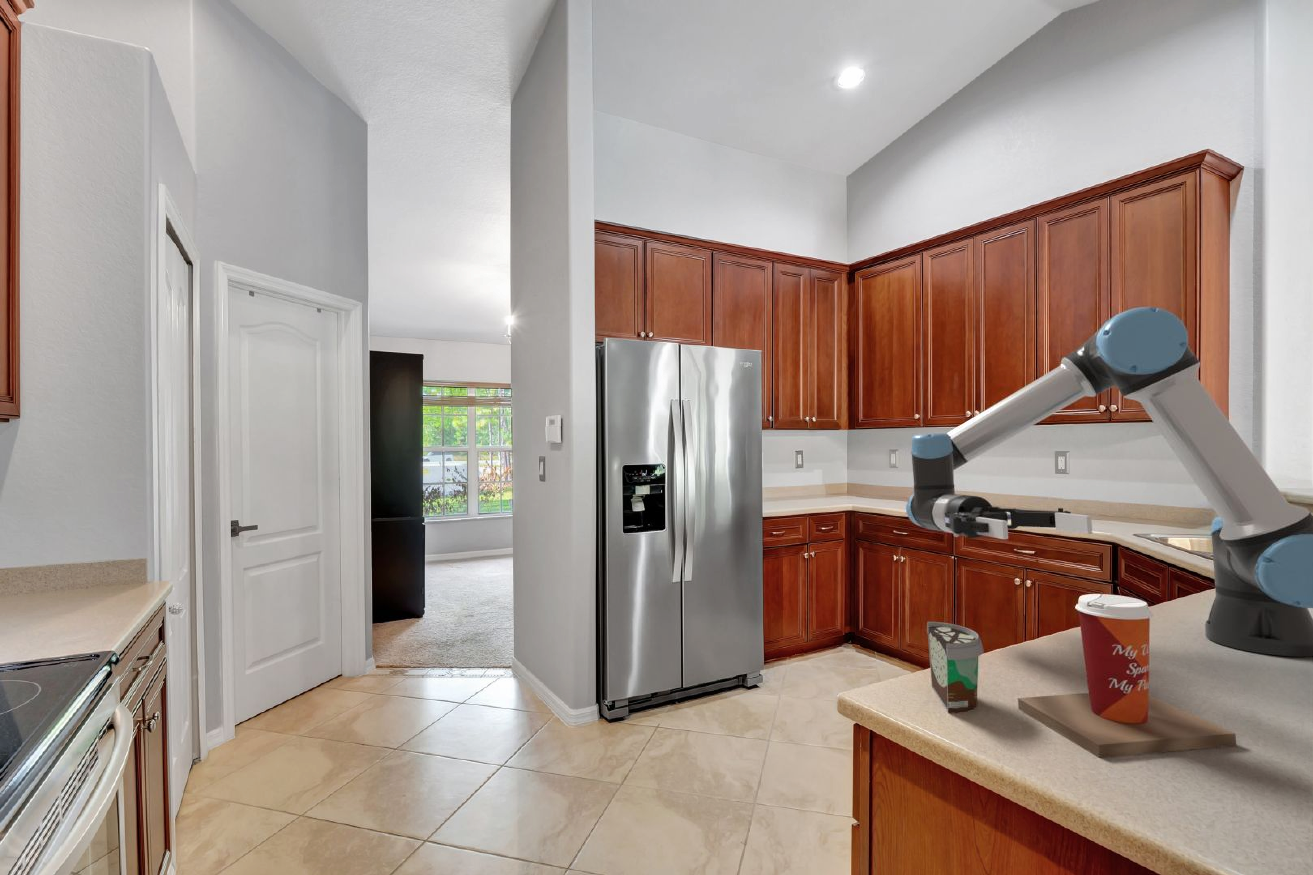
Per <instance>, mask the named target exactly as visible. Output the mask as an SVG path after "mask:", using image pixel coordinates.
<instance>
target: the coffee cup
mask: <svg viewBox="0 0 1313 875" xmlns="http://www.w3.org/2000/svg"><path fill="white" fill-rule="evenodd" d="M1074 607H1075V610H1077V611H1078V617H1079V624H1080V625H1079V626H1080V634H1081V641H1082V650H1083V657H1084V658H1083V659H1084V666H1085V674H1086V681H1087V689H1088V693H1089V698H1090V704H1091V709H1092V712H1093V713H1095V714H1096V715H1098V716H1100V717H1102V718H1104V719H1107V720H1110V721H1114V722H1119V723H1125V724H1142V723H1145V722H1147V719H1148V702H1149V696H1150V694H1149V692H1150V691H1149V690H1150V630H1151V629H1150V627H1151V625H1150V624H1151V623H1150V619H1151V618H1152V617H1154V614H1153V612H1152V611H1151V610H1150V608H1149V604H1148V603H1147V602H1146V601H1144V600H1142V599H1138V598H1134V597H1131V596H1124V595H1118V594H1117V595H1116V594H1108V593H1107V594H1106V593H1105V594H1104V593H1089V594H1082V595H1080V596H1079V598H1078V603H1076V605H1075V606H1074Z"/></svg>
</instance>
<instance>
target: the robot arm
mask: <svg viewBox="0 0 1313 875" xmlns="http://www.w3.org/2000/svg"><path fill="white" fill-rule="evenodd" d="M1188 344H1189V335H1188V331H1187V328H1186V326H1185V324H1184V322H1183V321H1182V320H1181V319H1180V317H1178V316H1176V315H1175V314H1174V313H1172V312H1170V311H1168V310H1166V309H1163V308H1159V307H1153V306H1152V307H1151V306H1141V307H1135V308H1134V307H1133V308H1130V309H1128V310H1126V311H1123V312H1120V313H1117V314H1116V315H1114V316H1113V317H1111V318H1110V319H1107V320H1106V322H1104V324H1102V326H1101V327H1100V328H1099V329H1098V330H1097V331H1095V333H1093V334H1092V336H1090V338H1088V339H1087V340H1086V341H1085V342H1084V343H1083V344H1082V345H1080V346H1079V347H1078V348H1076V349H1075V350H1073V351H1072V352H1071V353H1069V354H1068V355H1065V356H1064V357H1062V358H1061V361H1060V364H1059V366H1057V367H1055V368H1053V369H1052V370H1051V371H1048V372H1047V373H1045V374H1044V375H1042V376H1041V377H1039V378H1037V379H1035V380H1034V381H1033V382H1030V383H1029V384H1027V385H1025V386H1024V387H1022V388H1020V389H1019V390H1017V391H1015V392H1014V393H1012V394H1009V396H1007V397H1006V398H1003V399H1002V400H1000V401H999V402H997V403H995V404H993V405H992V406H990V407H988V408H987V409H985V410H983V411H982V412H980V413H979V414H977V415H975V416H974V417H972V418H970V419H969V420H967V421H965V422H964V423H962V424H960V425H958V426H956V427H955V428H953V429H952V430H950V431H948V432H947V433H944V432H943V433H925V434H914V435H913V436H912V437H911V439H910V440H911V441H910V442H911V444H910V445H911V448H910V454H911V462H912V463H911V464H912V473H913V475H912V476H913V494H911V496H910V497H909V498H908V499H907V502H906V504H905V510H906V515H907V517H908V519H909V521H911V522H912V523H913V524H914V525H917V526H918V527H922V528H924V529H927V530H929V531H931V530H932V531H937V532H938V531H939V532H944V533H949V534H950V533H951V534H953V536H954V537H955V538H958V537H960V536H962V537H966V538H968V539H977V538H982V537H989V538H993V539H994V538H995V539H1000V540H1009V530H1015V529H1018V527H1022V528H1023V527H1026V528H1052V529H1053V528H1054V529H1055V530H1058V531H1065V532H1071V533H1078V534H1083V535H1092V534H1093V524H1092V523H1093V522H1092V515H1087V514H1078V513H1077V514H1076V513H1075V514H1074V513H1071V511H1069V510H1064V508H1063V507H1059V508H1057V510H1040V509H1039V510H1036V509H1021V508H1020V509H1018V508H1016V507H1015V508H1012V507H1011V508H1006V507H1005V508H1004V507H1003V508H1002V507H999V506H992V504H991V503H990V502H989V501H988V500H987V499H986V498H984V497H981V496H978V495H969V494H968V495H967V494H962V493H961V494H959V493H955V479H954V478H955V477H954V476H955V475H954V471H955V470H957V469H959V468H960V467H962V466H964V465H965V464H967V463H969V462H971V461H972V460H974V459H976V458H977V457H979V456H981V455H982V454H984V453H986V452H988V451H990V450H992V449H994V448H995V447H997V446H999V445H1001V444H1002V443H1004V442H1006V441H1008V440H1009V439H1011V438H1013V437H1015V436H1017V435H1019V434H1020V433H1022V432H1023V431H1026V430H1027V429H1029V428H1031V427H1032V426H1035V425H1036V424H1037V423H1039V422H1042V421H1043V420H1045V419H1046V418H1048V417H1050V416H1051V415H1054V414H1055V413H1057V412H1059V411H1061V410H1063V409H1064V408H1066V407H1068V406H1070V405H1072V404H1073V403H1075V402H1077V401H1078V400H1080V399H1082V398H1084V397H1091V398H1095V397H1096V396H1098V395H1100V394H1101V393H1104V392H1105V391H1107V390H1110V389H1112V388H1113V387H1116V388H1117V389H1118V391H1119V392H1120V394H1121V395H1122V396H1123V398H1124V399H1127V400H1132V401H1137V403H1140V405H1141V406H1142V407H1143V410H1145V412H1146V413H1147V415H1148V416H1149V418H1150V419H1151V421H1152V422H1153V424H1154V425H1155V426H1156V428H1157V429H1158V431H1159V432H1160V433H1161V435H1162V436H1163V438H1164V439H1165V441H1166V442H1167V443H1168V445H1169V447H1170V448H1171V449H1172V451H1173V452H1174V454H1175V455H1176V457H1177V458H1178V460H1179V461H1180V463H1181V464H1182V466H1183V467H1184V468H1185V470H1186V471H1187V472H1188V474H1189V475H1190V477H1191V479H1192V480H1193V482H1195V484H1196V485H1197V487H1198V488H1199V490H1200V491H1201V493H1202V495H1203V496H1204V497H1205V498H1206V500H1207V502H1208V503H1209V504H1210V506H1211V507H1212V508H1213V510H1214V512H1215V513H1216V514H1217V515H1218V516H1217V517H1215V518H1214V519H1213V520H1212V522H1211V531H1210V536H1211V540H1212V541H1211V542H1212V543H1211V544H1212V556H1213V558H1212V560H1213V572H1214V587H1215V597H1214V600H1213V602H1212V606H1211V608H1210V611H1209V613H1208V614H1209V615H1208V619H1207V620H1206V621H1205V625H1204V629H1205V637H1206V638H1207V639H1208V640H1210V641H1212V642H1214V643H1217V644H1220V645H1223V646H1226V647H1229V648H1234V649H1238V650H1241V651H1246V652H1251V653H1252V652H1253V653H1258V654H1266V655H1273V656H1283V657H1313V617H1312V615H1311V612H1310V610H1309V609H1313V514H1312V513H1311V511H1310V510H1309V509H1308V508H1306V507H1303V506H1298V505H1296V504H1291V503H1290V502H1288V501H1287V499H1286V498H1285V496H1284V495H1283V493H1282V492H1281V491H1280V490H1279V489H1278V486H1276V484H1275V483H1274V481H1273V479H1271V477H1270V476H1269V475H1268V473H1267V472H1266V470H1265V469H1264V467H1263V466H1262V465H1261V464H1260V462H1259V461H1258V459H1257V458H1256V457H1255V455H1254V454H1253V453H1252V451H1251V449H1250V448H1249V447H1248V446H1247V444H1246V443H1245V441H1244V440H1243V438H1242V437H1241V436H1240V435H1239V433H1238V432H1237V430H1236V429H1235V427H1234V426H1233V425H1232V423H1231V422H1230V421H1229V419H1228V418H1227V417H1226V416H1225V414H1224V412H1223V411H1222V409H1221V408H1220V407H1219V405H1218V404H1217V403H1216V402H1215V400H1214V398H1213V397H1212V396H1211V395H1210V394H1209V392H1208V391H1207V389H1206V388H1205V386H1204V385H1203V383H1202V382H1201V380H1199V378H1198V372H1199V369H1200V366H1201V362H1200V360H1199V359H1198V357H1197V356H1196V354H1195V353H1194V352H1193V351H1192V349H1191V347H1190V346H1189V345H1188ZM1009 520H1010V525H1009V524H1008V522H1009Z"/></svg>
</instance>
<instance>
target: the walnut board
mask: <svg viewBox="0 0 1313 875" xmlns="http://www.w3.org/2000/svg"><path fill="white" fill-rule="evenodd" d="M1017 706H1018V710H1019V711H1021V712H1023V713H1025V714H1027V716H1029V717H1031V718H1033V719H1034V720H1036V721H1038V722H1040V723H1041V724H1042V725H1044V726H1046V727H1048V728H1050V730H1053V731H1055V732H1056V733H1058V734H1059V735H1061V736H1062V737H1064V738H1066V739H1068V740H1070V741H1071V742H1072V743H1074V744H1076V745H1078V746H1080V747H1081V748H1083V749H1084V750H1086V751H1088V752H1090V754H1091V753H1092V755H1094V756H1096V757H1098V758H1107V757H1108V758H1109V757H1120V756H1121V757H1122V756H1130V755H1131V756H1133V755H1132V754H1134V755H1144V754H1143V753H1146V754H1154V753H1155V754H1156V753H1157V752H1158V753H1166V752H1165V751H1170V752H1180V751H1179V750H1181V751H1189V750H1190V749H1193V750H1202V749H1203V750H1206V749H1212V748H1213V749H1215V748H1224V747H1225V748H1227V747H1237V740H1236V739H1237V737H1236V732H1233V731H1232V730H1229V729H1226V728H1224V727H1221V726H1220V725H1217V724H1215V723H1213V722H1211V721H1208V720H1206V719H1203V718H1201V717H1200V716H1197V715H1194V714H1192V713H1190V712H1187V711H1185V710H1183V709H1181V708H1178V707H1176V706H1174V705H1172V704H1169V703H1167V702H1164V701H1162V700H1160V699H1157V698H1155V697H1153V696H1151V695H1149V702H1148V719H1147V722H1145V723H1142V724H1125V723H1119V722H1114V721H1110V720H1107V719H1104V718H1102V717H1100V716H1098V715H1096V714H1095V713H1093V712H1092V709H1091V704H1090V698H1089V692H1083V693H1068V694H1057V695H1055V694H1054V695H1043V696H1042V695H1040V696H1030V697H1029V696H1028V697H1018V698H1017ZM1190 751H1191V750H1190ZM1141 753H1142V754H1141Z"/></svg>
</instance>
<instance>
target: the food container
mask: <svg viewBox="0 0 1313 875" xmlns="http://www.w3.org/2000/svg"><path fill="white" fill-rule="evenodd" d="M926 624H927V625H926V634H927V638H928V653H929V665H930V668H929V669H930V682H931V689H932V690H933V692H934V693H935V695H936V697H937V698H938V700H939V702H940V703H941V705H942V706H943V708H944V709H945V711H946V712H947V714H961V713H968V712H971V711H973V710H975V709H976V708H977V707H978V688H979V687H978V683H979V681H978V680H979V679H978V678H979V657H980V656H982V655H983V654H984V652H985V651H984V646H983V643H982V640H981V638H980V637H979V634H978V633H977V632H976V631H974V630H972V629H971V628H967V627H964V626H961V625H957V624H954V623H947V622H937V621H927V623H926Z"/></svg>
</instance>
